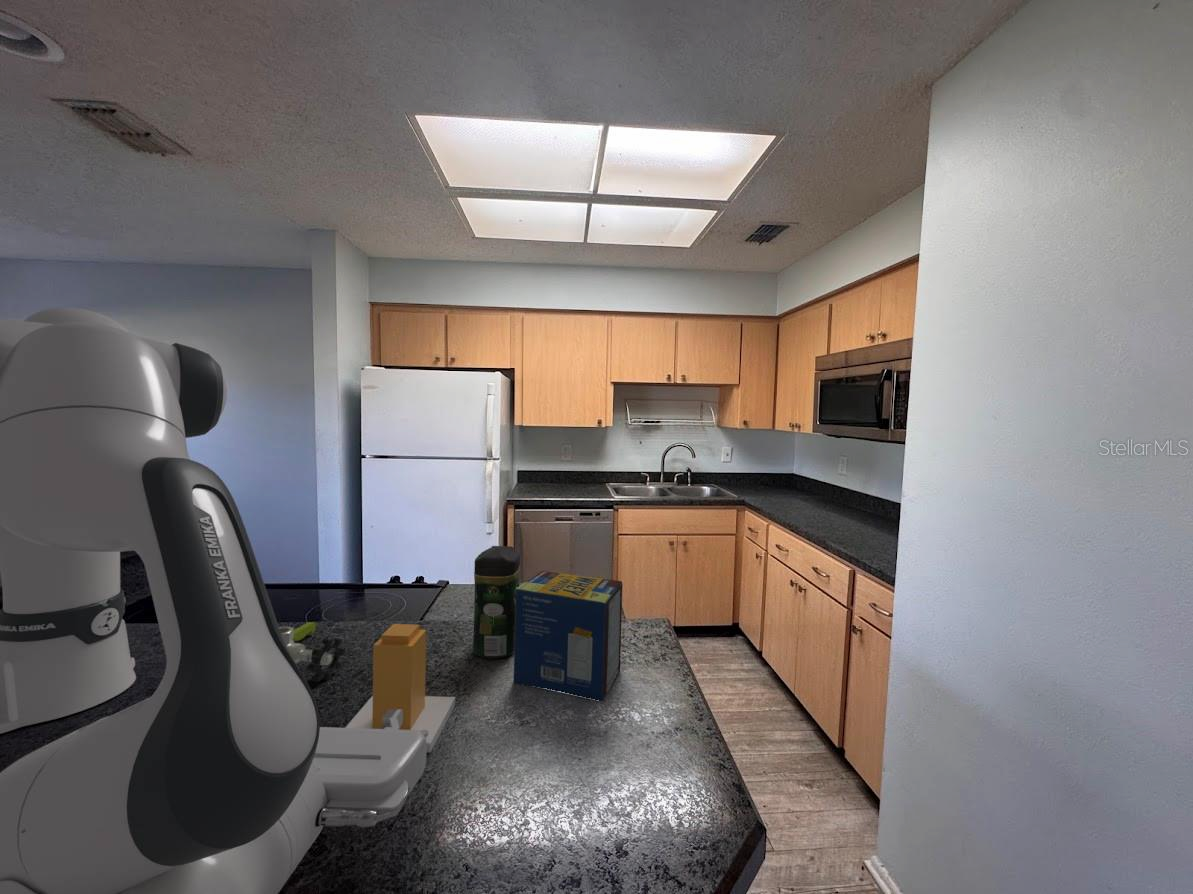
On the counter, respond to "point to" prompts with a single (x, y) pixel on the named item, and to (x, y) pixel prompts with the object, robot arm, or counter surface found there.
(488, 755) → the counter surface
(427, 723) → the plate
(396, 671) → the tall orange stepped box
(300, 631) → the kitchen knife
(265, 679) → the robot arm
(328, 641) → the valve
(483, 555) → the coffee jar
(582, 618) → the protein box
